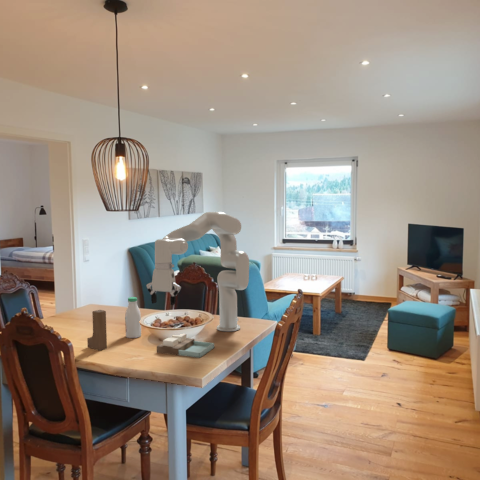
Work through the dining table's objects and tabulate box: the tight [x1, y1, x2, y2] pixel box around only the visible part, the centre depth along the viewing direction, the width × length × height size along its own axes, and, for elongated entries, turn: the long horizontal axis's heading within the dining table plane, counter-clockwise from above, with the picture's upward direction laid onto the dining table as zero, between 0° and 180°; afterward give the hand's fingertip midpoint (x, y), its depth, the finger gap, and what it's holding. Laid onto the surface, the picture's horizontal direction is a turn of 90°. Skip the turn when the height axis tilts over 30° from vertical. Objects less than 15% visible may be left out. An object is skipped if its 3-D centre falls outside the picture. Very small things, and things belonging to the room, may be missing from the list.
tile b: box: [162, 337, 178, 347], centre depth 209 cm, size 5×5×2 cm
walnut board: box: [156, 337, 196, 356], centre depth 213 cm, size 16×11×3 cm
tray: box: [178, 340, 215, 359], centre depth 209 cm, size 15×11×2 cm
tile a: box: [171, 333, 188, 342], centre depth 217 cm, size 5×5×2 cm
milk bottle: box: [124, 296, 142, 339], centre depth 233 cm, size 8×8×20 cm
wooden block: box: [86, 309, 108, 351], centre depth 214 cm, size 9×4×18 cm, turn 54°
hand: (163, 303), depth 208 cm, fingers open, 9 cm apart
